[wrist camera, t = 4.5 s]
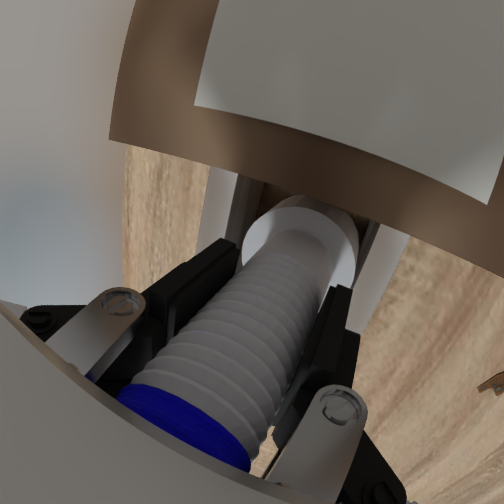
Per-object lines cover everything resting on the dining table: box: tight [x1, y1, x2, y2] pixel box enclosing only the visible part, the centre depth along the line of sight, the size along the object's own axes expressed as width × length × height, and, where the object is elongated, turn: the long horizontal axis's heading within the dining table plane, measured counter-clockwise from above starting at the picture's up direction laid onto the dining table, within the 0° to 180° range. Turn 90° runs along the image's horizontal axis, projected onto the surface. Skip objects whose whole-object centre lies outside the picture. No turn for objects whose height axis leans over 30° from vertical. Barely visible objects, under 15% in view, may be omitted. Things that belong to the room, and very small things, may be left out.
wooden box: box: [109, 0, 504, 335], centre depth 12 cm, size 18×22×9 cm
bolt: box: [115, 194, 359, 473], centre depth 9 cm, size 16×5×5 cm
